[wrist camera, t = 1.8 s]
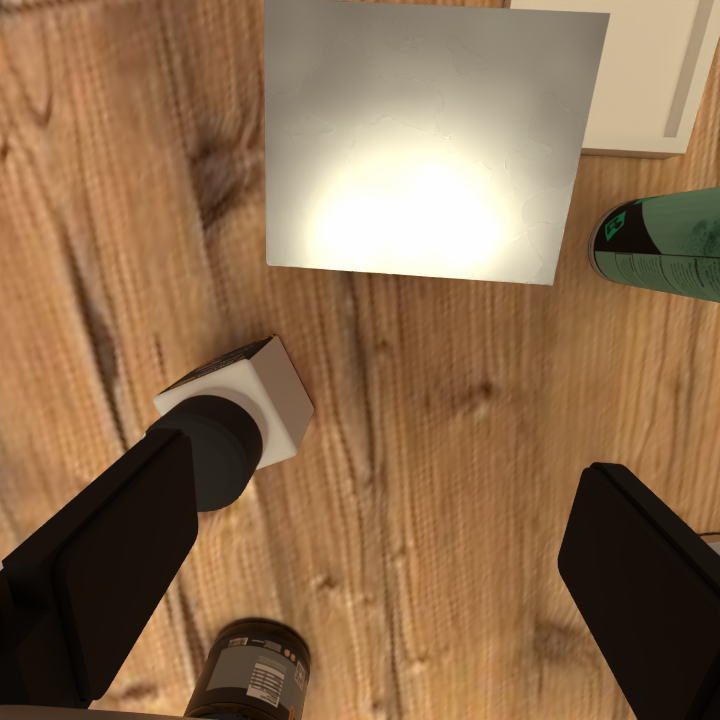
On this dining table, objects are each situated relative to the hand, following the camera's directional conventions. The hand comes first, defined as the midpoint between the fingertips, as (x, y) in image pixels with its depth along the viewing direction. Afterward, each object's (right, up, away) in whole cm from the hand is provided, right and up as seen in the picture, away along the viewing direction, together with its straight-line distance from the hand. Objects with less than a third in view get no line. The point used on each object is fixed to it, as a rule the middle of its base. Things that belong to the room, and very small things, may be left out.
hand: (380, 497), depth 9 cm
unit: (+2, +14, +17) cm, 22 cm away
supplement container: (-11, -27, +31) cm, 43 cm away
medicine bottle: (-9, +1, +22) cm, 24 cm away
